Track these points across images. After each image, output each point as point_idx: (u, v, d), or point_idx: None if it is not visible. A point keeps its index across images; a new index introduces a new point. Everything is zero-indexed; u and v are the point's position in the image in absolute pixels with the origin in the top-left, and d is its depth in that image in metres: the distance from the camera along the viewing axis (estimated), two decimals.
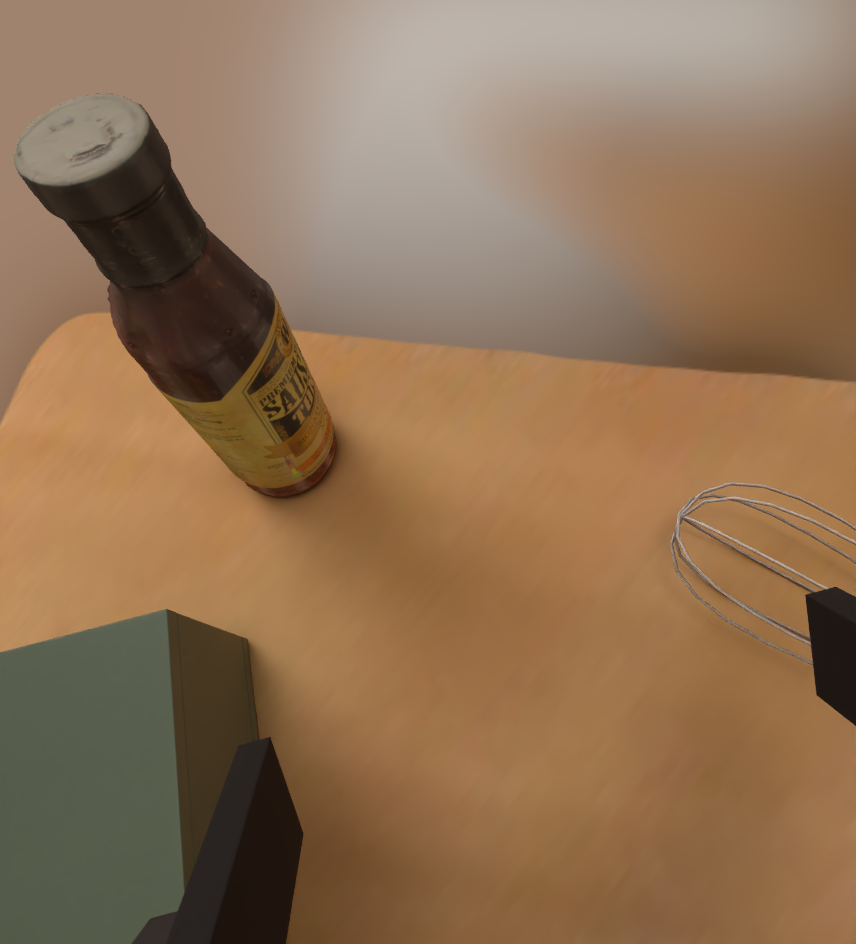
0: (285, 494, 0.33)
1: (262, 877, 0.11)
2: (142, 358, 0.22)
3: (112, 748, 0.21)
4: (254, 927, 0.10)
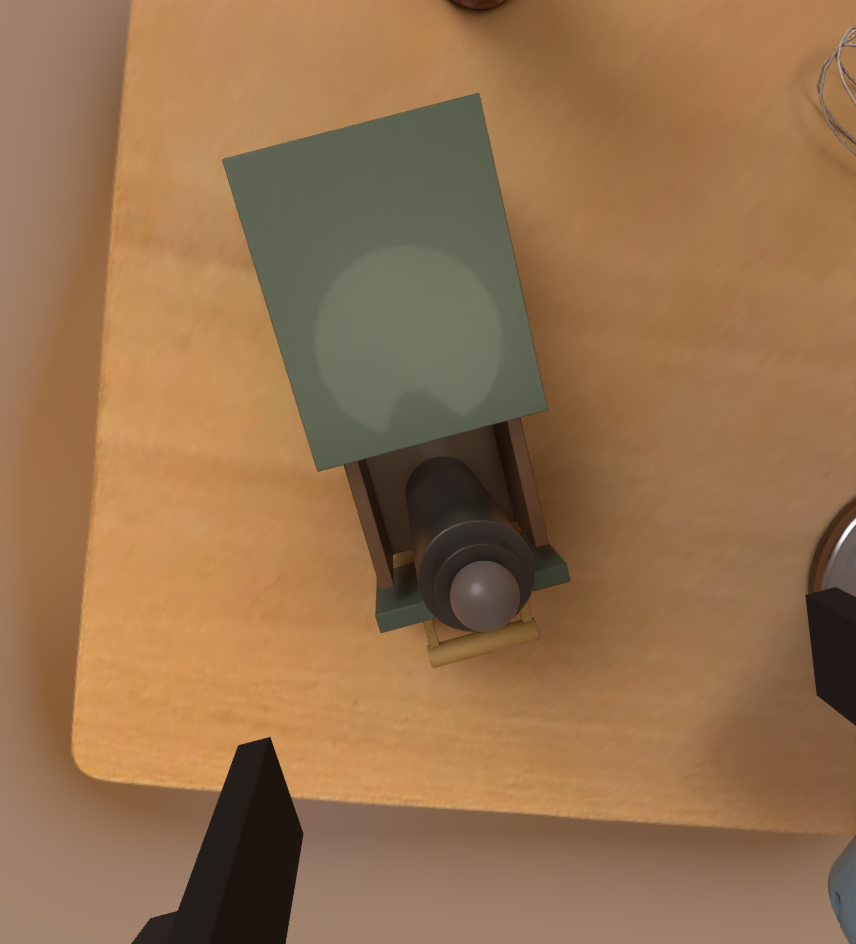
0: (485, 6, 0.34)
1: (262, 877, 0.11)
2: None
3: (456, 201, 0.29)
4: (254, 927, 0.10)
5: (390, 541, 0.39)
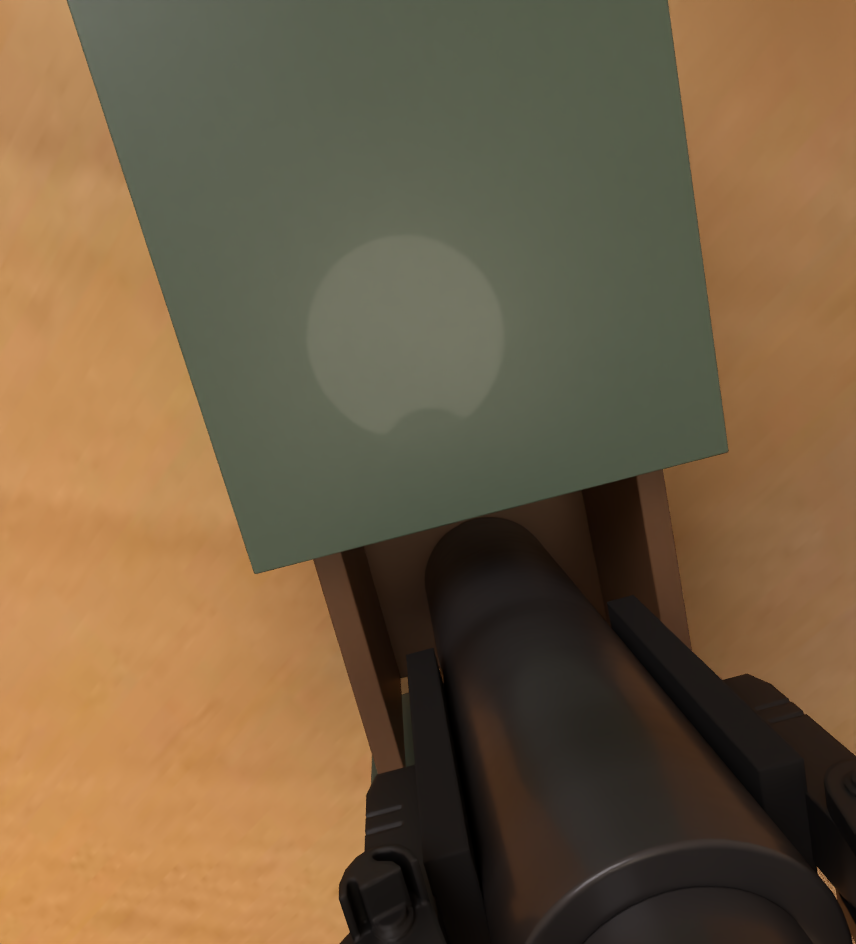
0: None
1: None
2: None
3: None
4: None
5: (396, 657, 0.23)
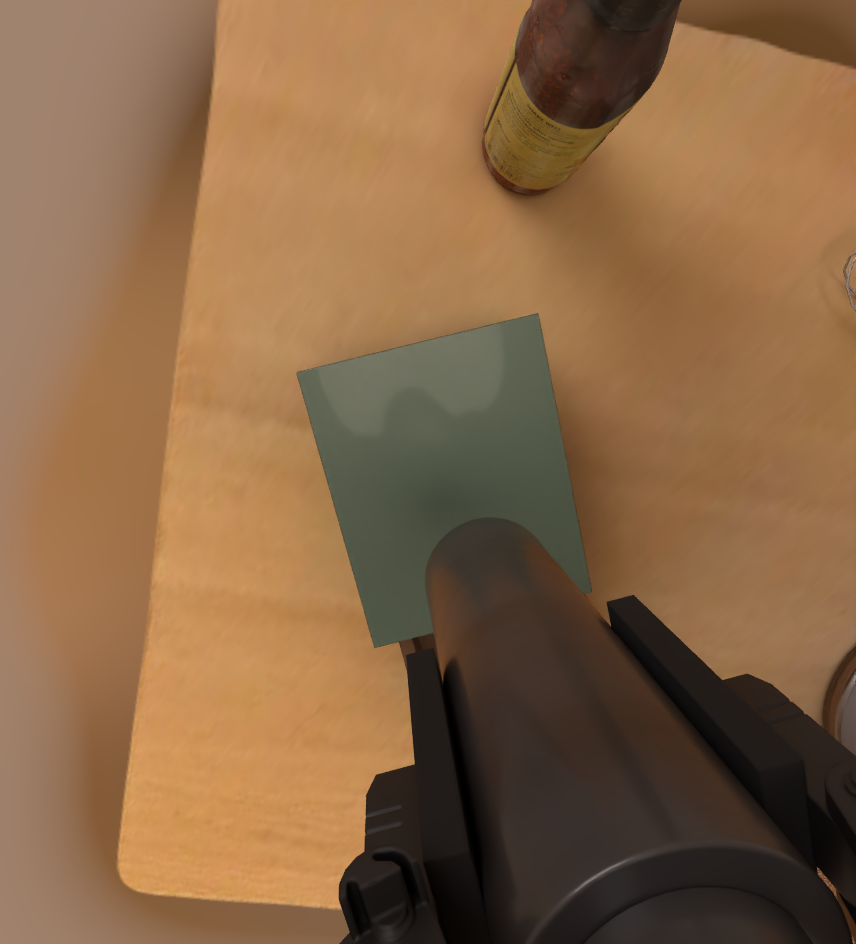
0: (536, 193, 0.36)
1: None
2: (566, 89, 0.24)
3: (513, 409, 0.31)
4: (461, 782, 0.12)
5: None
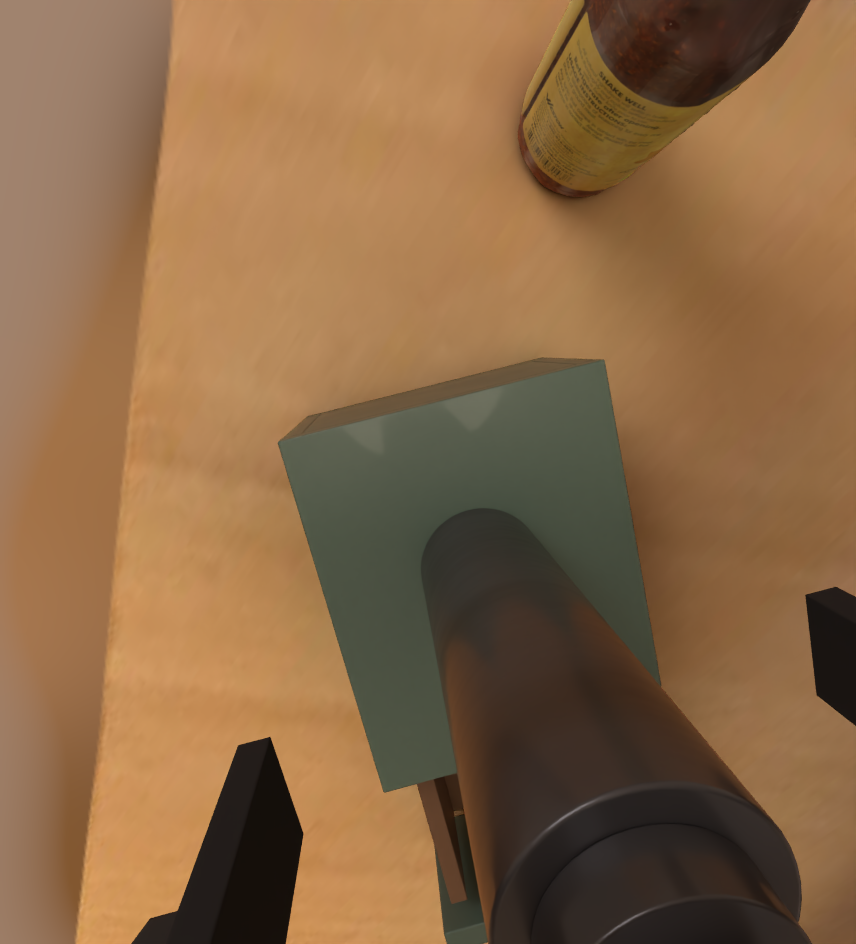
0: (586, 196, 0.28)
1: (262, 877, 0.11)
2: (670, 45, 0.16)
3: (569, 486, 0.23)
4: (254, 927, 0.10)
5: (451, 797, 0.33)
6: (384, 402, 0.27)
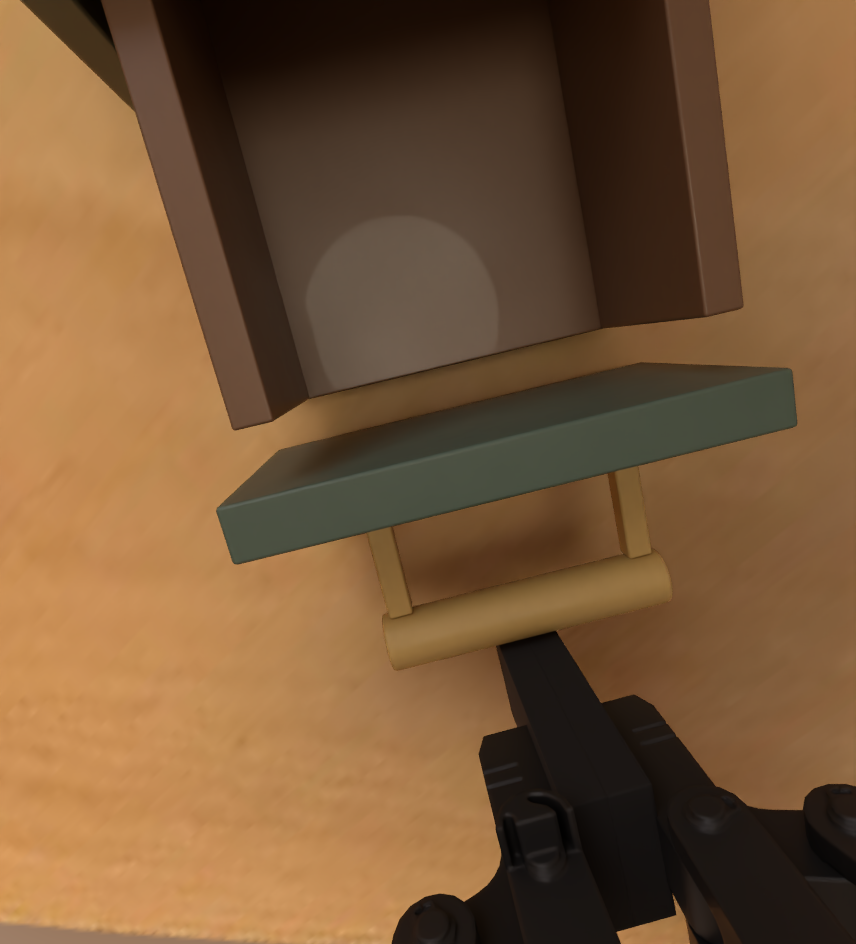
0: None
1: None
2: None
3: None
4: None
5: (303, 365, 0.16)
6: None
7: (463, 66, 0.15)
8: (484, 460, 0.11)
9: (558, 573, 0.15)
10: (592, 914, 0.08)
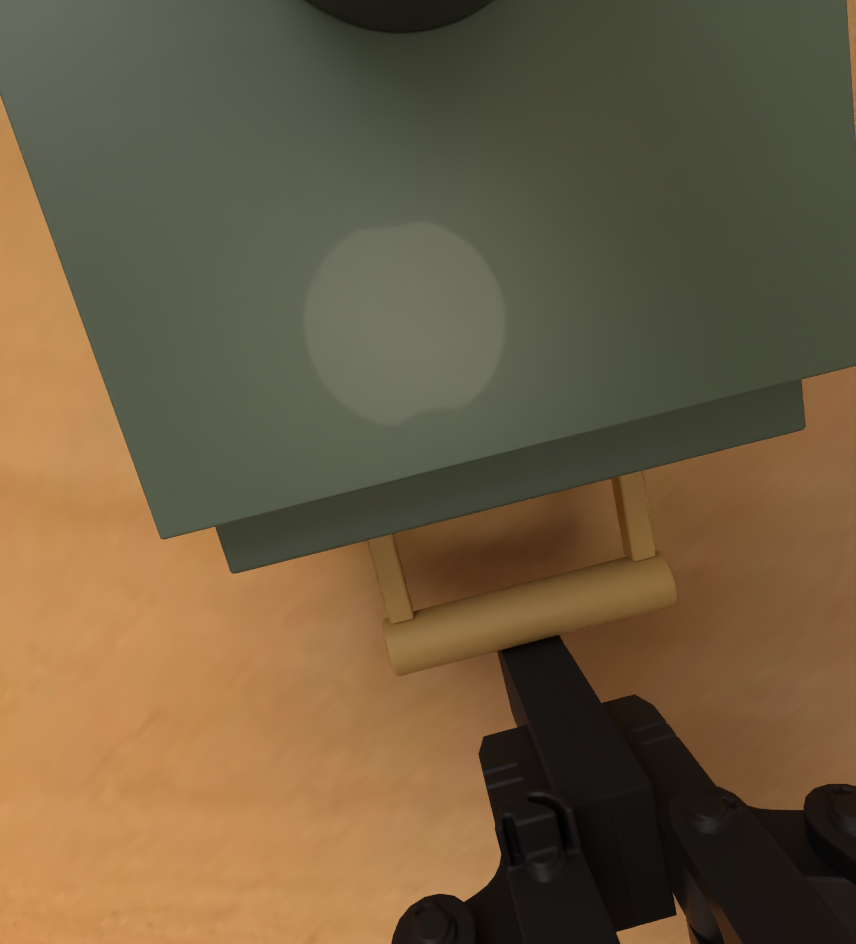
0: None
1: None
2: None
3: None
4: None
5: None
6: None
7: None
8: (486, 466, 0.11)
9: (561, 577, 0.14)
10: (591, 914, 0.08)
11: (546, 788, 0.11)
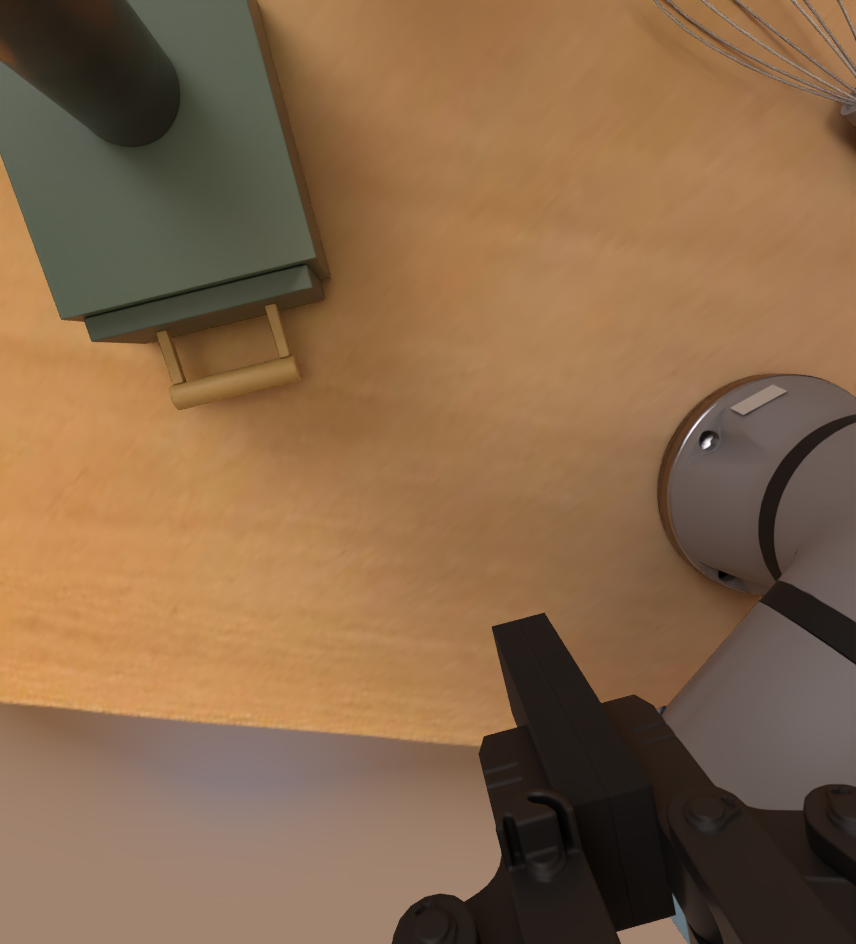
0: None
1: None
2: None
3: (198, 12, 0.26)
4: None
5: None
6: None
7: None
8: (187, 300, 0.29)
9: (250, 366, 0.33)
10: (592, 914, 0.08)
11: (546, 788, 0.11)
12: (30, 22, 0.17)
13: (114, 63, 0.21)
